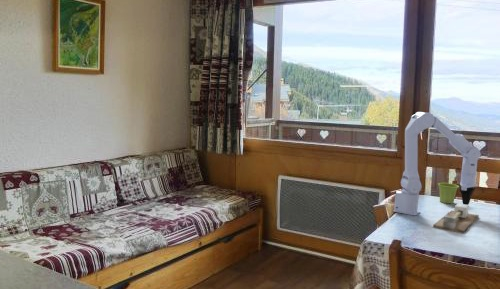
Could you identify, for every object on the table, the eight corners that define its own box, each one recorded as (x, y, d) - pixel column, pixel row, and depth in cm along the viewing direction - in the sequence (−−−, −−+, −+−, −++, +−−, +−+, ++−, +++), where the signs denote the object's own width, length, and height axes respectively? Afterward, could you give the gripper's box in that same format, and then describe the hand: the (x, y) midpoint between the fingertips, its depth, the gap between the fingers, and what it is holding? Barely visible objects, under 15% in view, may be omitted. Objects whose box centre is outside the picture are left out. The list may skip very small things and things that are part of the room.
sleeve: (453, 215, 195) (454, 205, 195) (456, 213, 199) (457, 203, 199) (465, 217, 193) (466, 207, 192) (467, 215, 197) (468, 205, 196)
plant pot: (458, 202, 227) (460, 184, 226) (455, 205, 219) (457, 187, 218) (438, 199, 232) (440, 182, 231) (434, 202, 224) (436, 184, 223)
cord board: (433, 227, 182) (434, 214, 181) (451, 212, 206) (452, 201, 205) (463, 233, 175) (464, 220, 175) (478, 217, 200) (479, 206, 199)
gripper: (475, 177, 192) (472, 209, 194) (481, 172, 204) (478, 202, 206) (457, 174, 196) (454, 206, 198) (464, 170, 208) (461, 200, 210)
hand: (465, 204), depth 202 cm, fingers closed
